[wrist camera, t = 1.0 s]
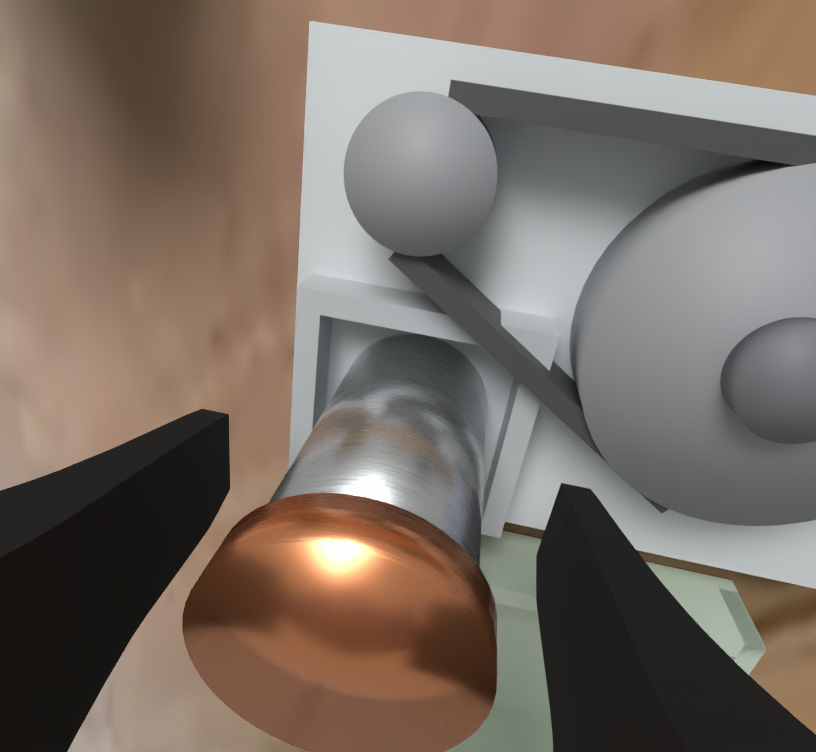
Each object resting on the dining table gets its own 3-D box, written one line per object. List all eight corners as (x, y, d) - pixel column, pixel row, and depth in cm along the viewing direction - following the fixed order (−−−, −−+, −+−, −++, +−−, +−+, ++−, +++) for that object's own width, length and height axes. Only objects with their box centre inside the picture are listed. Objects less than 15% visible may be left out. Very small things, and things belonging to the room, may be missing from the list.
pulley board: (1071, 140, 11) (1346, 151, 7) (797, 558, 16) (879, 680, 13) (326, 29, 12) (254, -8, 9) (301, 453, 18) (251, 538, 14)
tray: (731, 580, 17) (766, 648, 15) (636, 740, 21) (652, 813, 19) (395, 507, 18) (380, 562, 16) (367, 675, 22) (352, 737, 20)
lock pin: (515, 341, 13) (534, 590, 6) (479, 483, 16) (463, 790, 8) (340, 308, 14) (172, 509, 7) (328, 451, 16) (189, 721, 9)
